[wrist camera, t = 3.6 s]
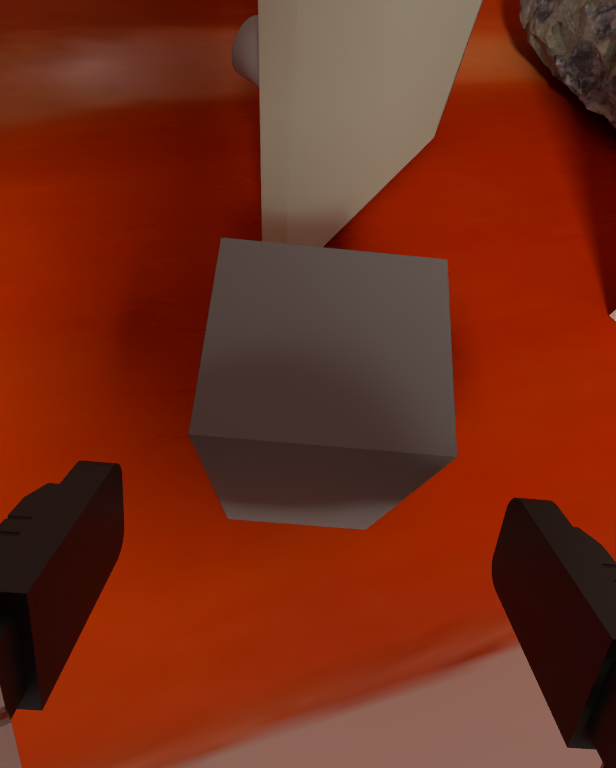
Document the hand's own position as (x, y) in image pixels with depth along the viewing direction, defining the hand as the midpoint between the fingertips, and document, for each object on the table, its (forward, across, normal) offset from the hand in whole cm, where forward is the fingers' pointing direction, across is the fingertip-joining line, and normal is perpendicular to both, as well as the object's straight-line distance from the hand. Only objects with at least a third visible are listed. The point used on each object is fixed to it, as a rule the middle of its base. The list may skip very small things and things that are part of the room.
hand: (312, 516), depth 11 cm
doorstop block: (+8, 0, +4) cm, 9 cm away
